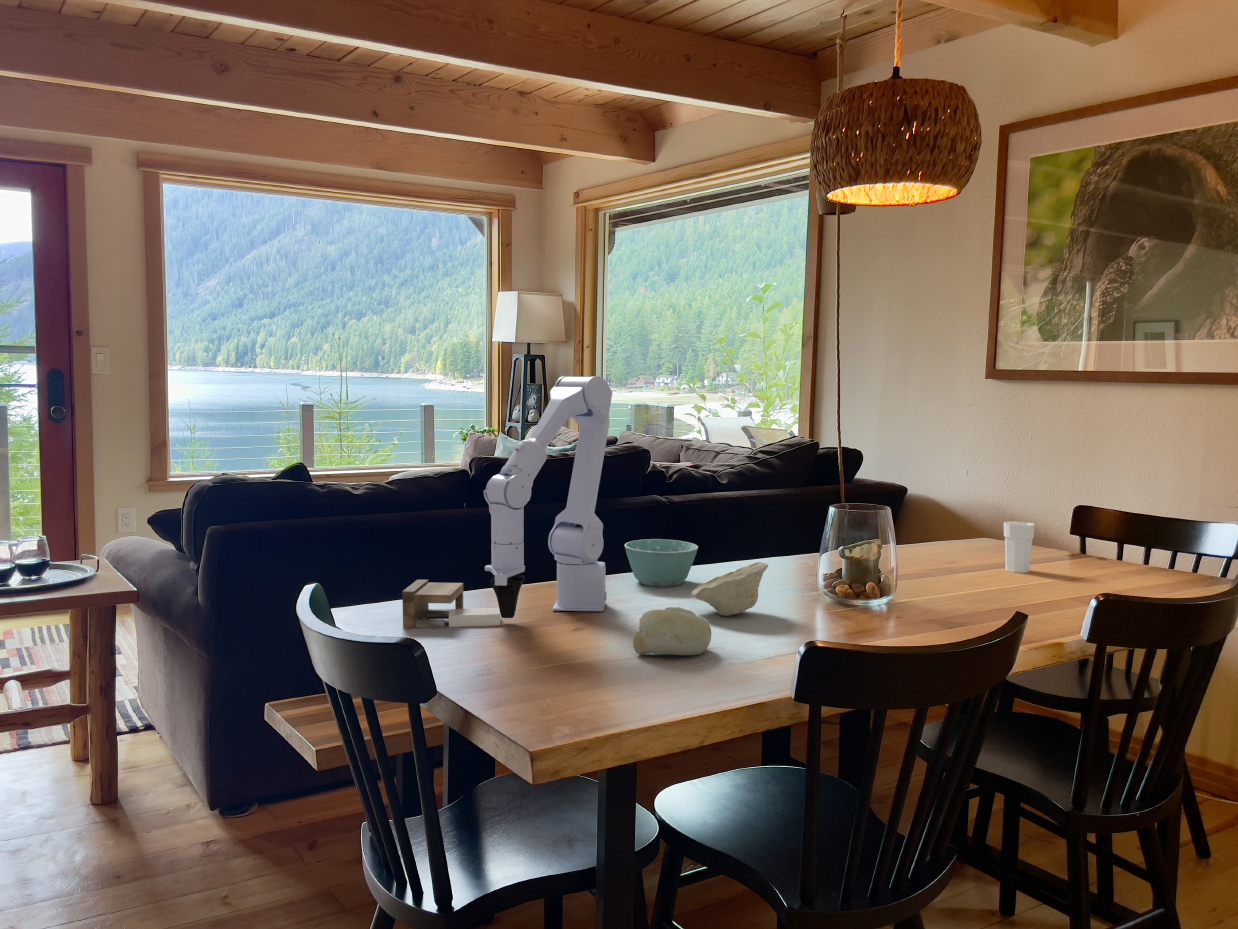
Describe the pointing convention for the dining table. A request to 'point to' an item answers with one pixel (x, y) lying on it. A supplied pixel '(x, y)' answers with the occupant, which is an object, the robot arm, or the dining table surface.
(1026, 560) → the cup
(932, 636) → the dining table surface
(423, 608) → the shelf
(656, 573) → the bowl
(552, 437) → the robot arm
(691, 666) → the dining table surface
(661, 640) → the smooth beige rock
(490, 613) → the tile
